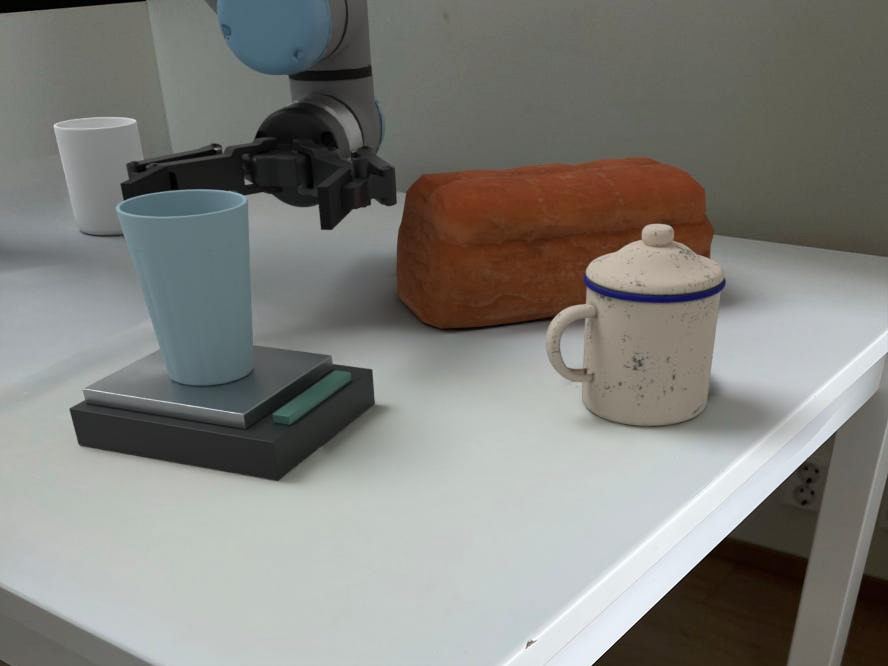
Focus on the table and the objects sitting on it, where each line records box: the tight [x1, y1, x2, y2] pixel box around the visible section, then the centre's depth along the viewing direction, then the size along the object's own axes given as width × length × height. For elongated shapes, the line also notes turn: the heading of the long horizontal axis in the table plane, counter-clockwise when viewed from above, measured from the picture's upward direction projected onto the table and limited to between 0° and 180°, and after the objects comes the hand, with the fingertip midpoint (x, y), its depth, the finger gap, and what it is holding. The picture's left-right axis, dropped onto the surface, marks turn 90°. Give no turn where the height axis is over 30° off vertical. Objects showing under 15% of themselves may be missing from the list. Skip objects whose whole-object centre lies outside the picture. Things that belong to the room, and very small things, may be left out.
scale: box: [68, 344, 376, 481], centre depth 66 cm, size 15×13×4 cm
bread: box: [395, 156, 716, 329], centre depth 87 cm, size 16×27×11 cm, turn 110°
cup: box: [116, 189, 254, 386], centre depth 63 cm, size 8×8×10 cm
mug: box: [53, 116, 145, 236], centre depth 112 cm, size 9×12×11 cm
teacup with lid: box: [545, 224, 727, 427], centre depth 66 cm, size 12×9×12 cm
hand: (225, 207), depth 67 cm, fingers open, 13 cm apart
